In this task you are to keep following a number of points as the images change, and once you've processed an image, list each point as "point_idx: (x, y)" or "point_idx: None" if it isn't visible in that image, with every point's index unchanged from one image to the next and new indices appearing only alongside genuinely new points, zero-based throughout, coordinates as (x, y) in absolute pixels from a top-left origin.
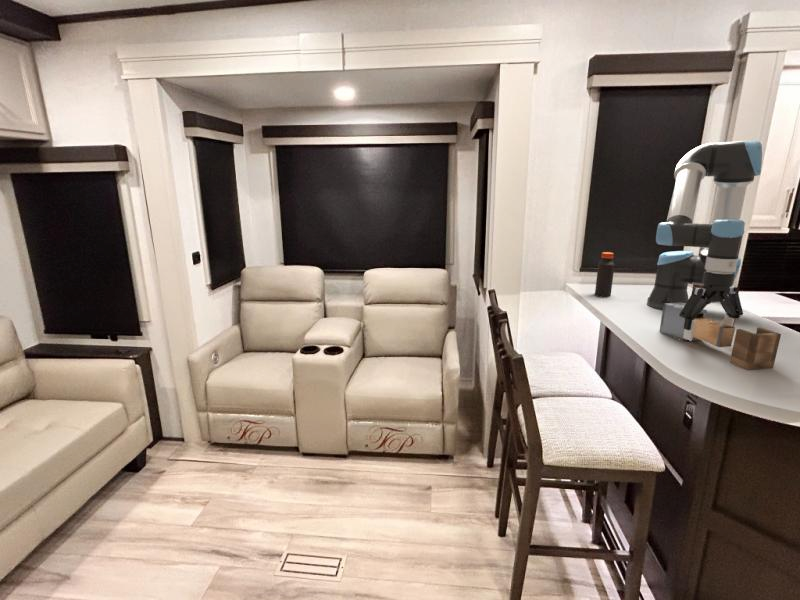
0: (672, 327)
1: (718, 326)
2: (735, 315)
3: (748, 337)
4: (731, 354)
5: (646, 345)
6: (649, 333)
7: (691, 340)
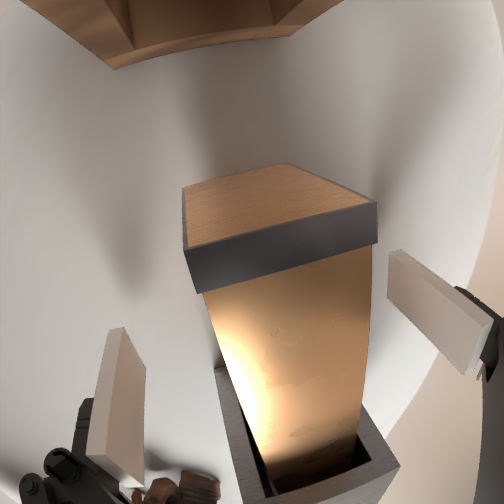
0: None
1: (361, 275)
2: (77, 481)
3: None
4: (307, 22)
5: (470, 261)
6: (373, 389)
7: (394, 253)
